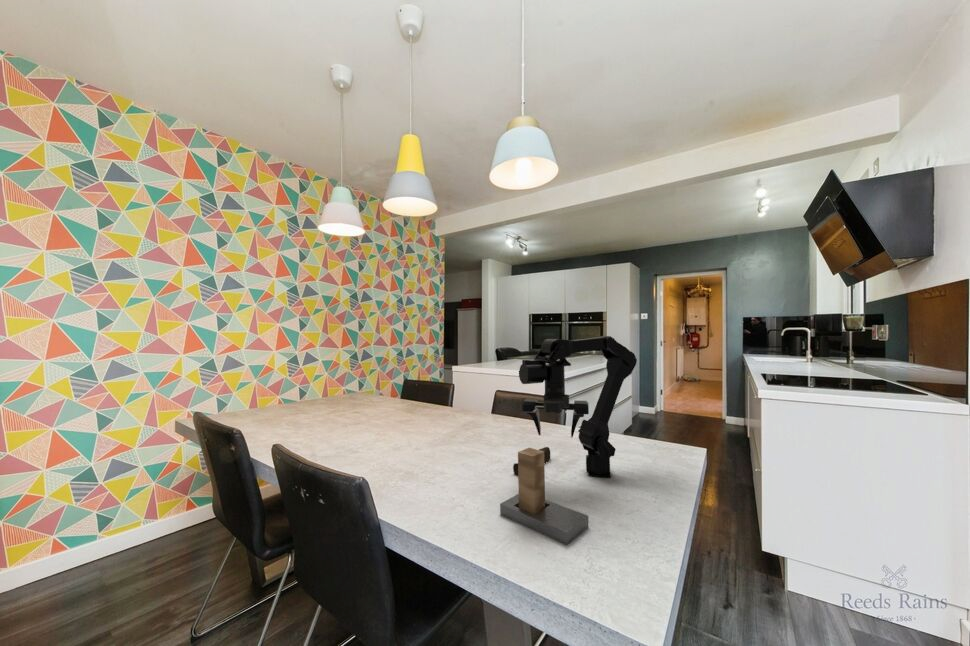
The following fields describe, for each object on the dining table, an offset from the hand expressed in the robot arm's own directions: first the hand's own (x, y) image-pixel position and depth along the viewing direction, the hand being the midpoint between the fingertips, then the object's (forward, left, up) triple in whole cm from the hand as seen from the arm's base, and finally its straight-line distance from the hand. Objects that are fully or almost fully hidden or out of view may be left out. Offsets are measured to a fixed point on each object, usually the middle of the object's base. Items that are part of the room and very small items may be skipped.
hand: (555, 436), depth 103 cm
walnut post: (+4, +21, -13) cm, 25 cm away
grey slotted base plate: (+1, +22, -13) cm, 26 cm away
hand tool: (+8, -10, -14) cm, 19 cm away
